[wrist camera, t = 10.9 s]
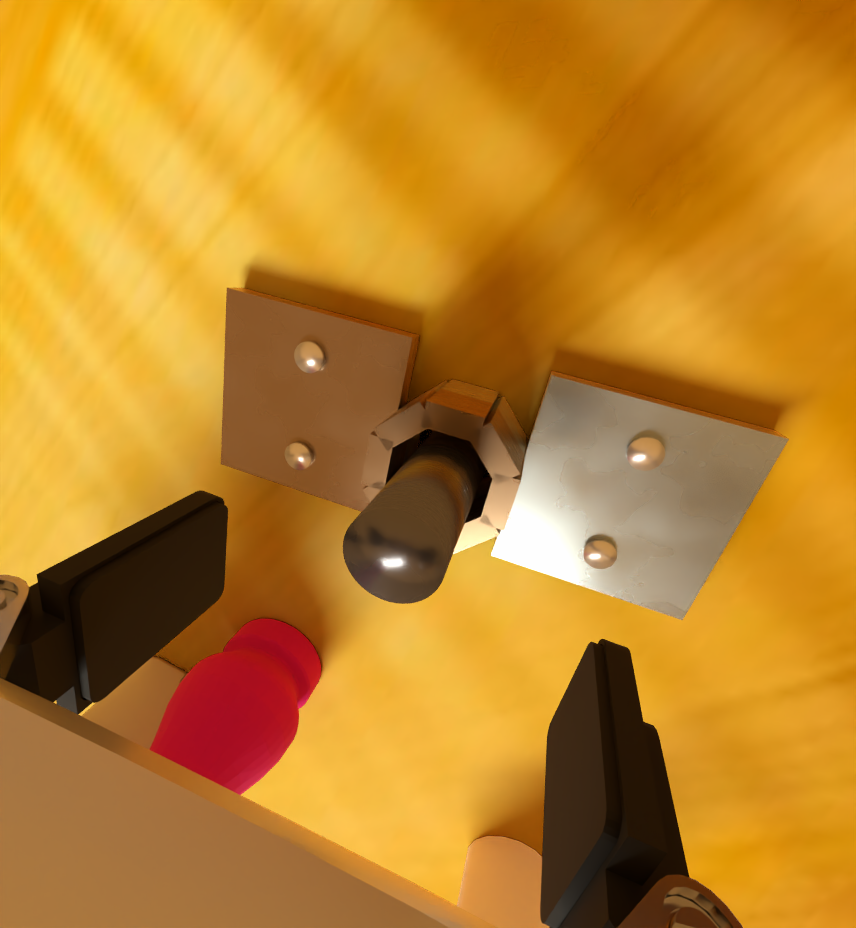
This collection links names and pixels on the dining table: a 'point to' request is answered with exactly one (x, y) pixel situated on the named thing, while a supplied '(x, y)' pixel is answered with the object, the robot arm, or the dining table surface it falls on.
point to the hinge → (494, 451)
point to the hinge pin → (415, 521)
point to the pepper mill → (240, 705)
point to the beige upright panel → (139, 702)
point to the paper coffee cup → (502, 883)
